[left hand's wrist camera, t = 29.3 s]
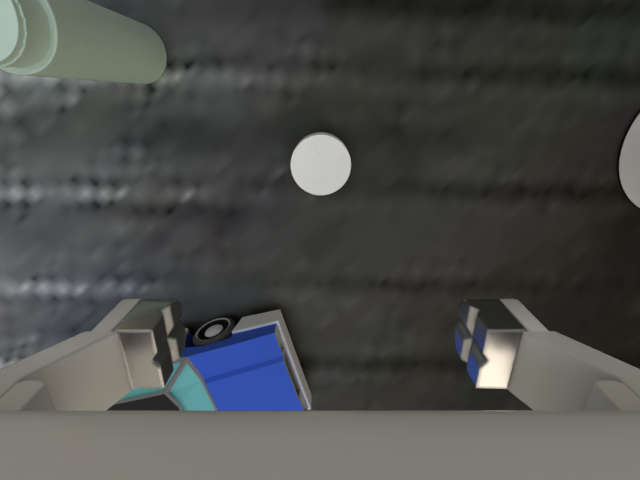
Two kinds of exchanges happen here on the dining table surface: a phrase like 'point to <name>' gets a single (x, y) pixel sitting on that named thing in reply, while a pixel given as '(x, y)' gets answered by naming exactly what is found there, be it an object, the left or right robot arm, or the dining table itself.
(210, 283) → the dining table surface
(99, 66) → the jar
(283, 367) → the toy car
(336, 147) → the lid
